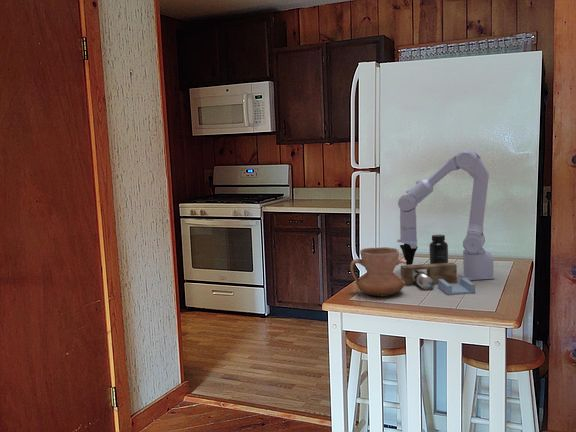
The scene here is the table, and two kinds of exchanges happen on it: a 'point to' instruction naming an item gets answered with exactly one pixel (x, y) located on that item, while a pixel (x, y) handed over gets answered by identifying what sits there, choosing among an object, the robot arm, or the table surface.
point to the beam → (431, 272)
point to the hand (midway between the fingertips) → (409, 264)
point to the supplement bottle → (438, 250)
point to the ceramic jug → (379, 271)
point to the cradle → (457, 287)
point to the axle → (423, 280)
